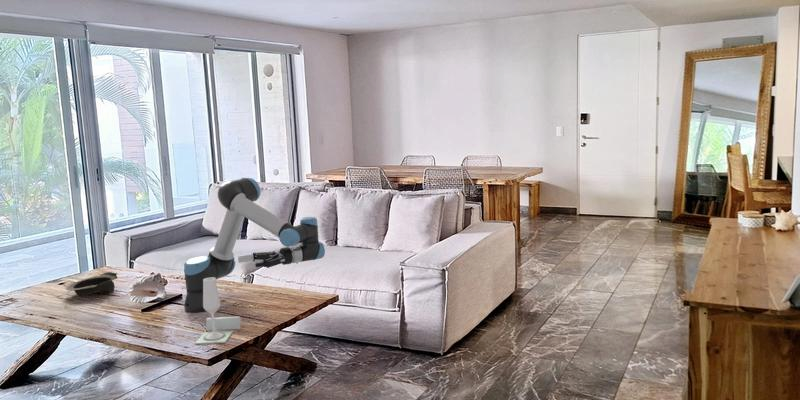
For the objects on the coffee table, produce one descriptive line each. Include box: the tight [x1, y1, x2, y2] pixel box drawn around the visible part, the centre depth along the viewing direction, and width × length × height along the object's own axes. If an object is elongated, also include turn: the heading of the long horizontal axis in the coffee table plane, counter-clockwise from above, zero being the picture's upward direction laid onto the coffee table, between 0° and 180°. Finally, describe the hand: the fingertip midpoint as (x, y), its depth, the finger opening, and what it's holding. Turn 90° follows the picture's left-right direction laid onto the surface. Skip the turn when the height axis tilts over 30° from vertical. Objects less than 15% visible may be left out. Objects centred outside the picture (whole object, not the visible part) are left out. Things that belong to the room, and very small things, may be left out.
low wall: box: [205, 316, 242, 332], centre depth 256 cm, size 14×2×5 cm, turn 90°
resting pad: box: [194, 330, 234, 346], centre depth 247 cm, size 12×12×1 cm
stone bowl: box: [65, 271, 118, 297], centre depth 321 cm, size 25×25×9 cm
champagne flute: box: [203, 277, 223, 339], centre depth 245 cm, size 7×7×24 cm
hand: (242, 262), depth 259 cm, fingers open, 13 cm apart
